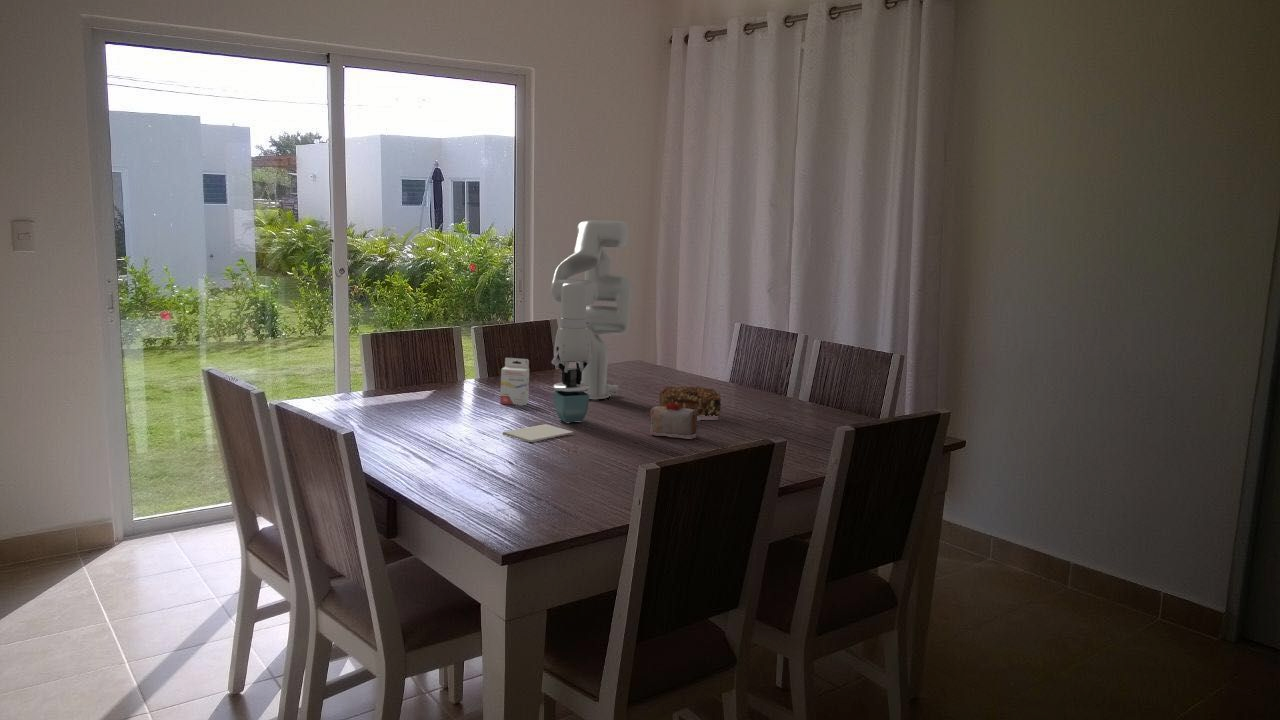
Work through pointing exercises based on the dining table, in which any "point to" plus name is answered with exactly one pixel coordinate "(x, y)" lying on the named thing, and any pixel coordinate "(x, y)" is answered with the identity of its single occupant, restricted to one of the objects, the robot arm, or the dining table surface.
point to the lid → (572, 384)
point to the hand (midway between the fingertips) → (571, 383)
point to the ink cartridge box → (515, 382)
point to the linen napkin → (536, 432)
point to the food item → (673, 420)
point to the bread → (692, 399)
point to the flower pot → (571, 405)
